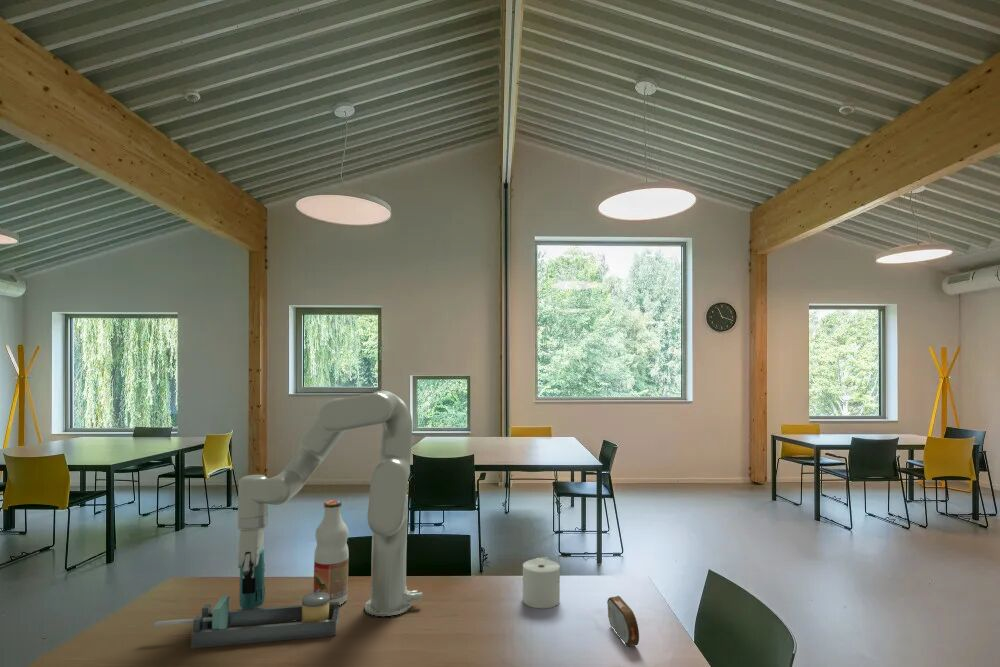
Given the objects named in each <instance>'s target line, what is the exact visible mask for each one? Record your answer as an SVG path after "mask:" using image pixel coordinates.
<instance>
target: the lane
mask: <svg viewBox="0 0 1000 667" xmlns="http://www.w3.org/2000/svg"><path fill="white" fill-rule="evenodd" d="M211 610H212V604H211V603H207V604H204V605H203V607H202V608H201V614H200V615H196V616H195V617H194V618H195V619H194V618H193V619H194V620H193V623H192V632H191V633H190V635H191V636H190V649H201V648H202V649H203V648H210V647H211V648H212V647H223V646H236V645H245V644H246V645H247V644H256V643H268V642H279V641H289V640H290V641H291V640H302V639H312V638H325V637H334V636H333V635H337V630H336V629H338V624H339V618H340V606H339V602H333V603H329V617H332V618H330V619H329V620H319V621H307V622H302V604H298V605H297V604H296V605H294V604H293V605H284V606H282V605H281V606H270V607H256V608H252V609H243V608H242V609H234V610H233V609H232V610H230V609H229V616H228V627H227V628H223V629H212V622H203V618H207V617H212V616H213V611H211ZM338 617H339V618H338ZM294 620H300V621H294ZM286 621H288V622H286ZM284 622H285V623H284ZM337 623H338V624H337ZM248 625H249V626H248Z"/></svg>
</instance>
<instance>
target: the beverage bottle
mask: <svg viewBox="0 0 1000 667" xmlns="http://www.w3.org/2000/svg"><path fill="white" fill-rule="evenodd" d="M243 563H244V562H243ZM265 565H266V564H265V548H264V549H262V550H261V552H260V558H259V563H258V565H257V566H256V567H255V576H254V577H256V587H255V593H251V594H242V579H243V568H244V564H243V566H242V567H241V568H239V594H238V596H239V597H238V598H239V601H238V602H239V607H240V608H241V609H242V610H243V609H256V608H260V607H261V606H262V605H263V604H264V602H265V595H266V585H265V580H266V578H265V571H266V570H265V569H266V567H265ZM250 566H253V564H250ZM250 570H251V571H252V568H250Z"/></svg>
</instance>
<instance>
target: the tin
mask: <svg viewBox="0 0 1000 667" xmlns="http://www.w3.org/2000/svg"><path fill="white" fill-rule="evenodd" d="M606 602H607V617H608V621H609V625H610V627H611V626H612V627H613V628H614V629H615V631H616V632H617V634H618V635H619V636H620V638H621V639H622V640H623V641H624V642H625V644H626V646H625V647H633V646H635V645H636V646H638V644H639V642H640V631H639V624H638V621H637V618H636V614H635V613H634V611H633V609H632V608H631V607H629V605H628V604H627V603H626V602H625V600H624V599H623V598H622V597H621V596H619V595H617V596H611V597H609V598H608V599H607V601H606ZM612 627H611V628H612ZM617 634H616V635H617ZM620 638H619V639H620ZM632 645H633V646H632Z"/></svg>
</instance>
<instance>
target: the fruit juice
mask: <svg viewBox="0 0 1000 667" xmlns="http://www.w3.org/2000/svg"><path fill="white" fill-rule="evenodd" d="M342 505H343V504H342V501H341V500H340V499H330V500H326V501H324V502H323V509H324V513H323V518H322V521H321V522H320V524H319V525H318V527H317V528H316V530H315V535H314V536H315V541H316V547H315V548H314V555H313V556H314V558H313V592H326V593H328V594H329V595H330V601H329V603H333V602H339V605H340V606H342V605H344V604H345V603H346V602H347V601H348V597H349V596H348V595H349V594H348V592H349V546H348V544H347V542H348V538H349V527H348V526H347V524H346V523H345V522H344V520H343V517H342V514H341V513H342V512H341V508H342ZM313 592H312V593H313ZM346 600H347V601H346ZM345 601H346V602H345ZM344 602H345V603H344ZM343 603H344V604H343ZM341 604H342V605H341Z"/></svg>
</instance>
